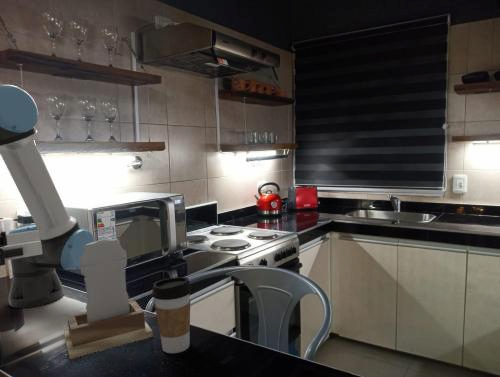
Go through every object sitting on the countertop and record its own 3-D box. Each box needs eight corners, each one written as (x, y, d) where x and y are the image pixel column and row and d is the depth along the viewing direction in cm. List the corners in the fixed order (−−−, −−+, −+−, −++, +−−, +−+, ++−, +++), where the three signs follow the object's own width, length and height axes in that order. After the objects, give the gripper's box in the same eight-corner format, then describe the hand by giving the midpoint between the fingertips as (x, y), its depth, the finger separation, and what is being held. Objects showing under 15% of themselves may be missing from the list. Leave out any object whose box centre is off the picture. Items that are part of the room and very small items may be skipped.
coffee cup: (187, 357, 85) (182, 287, 84) (150, 355, 87) (144, 287, 86) (200, 338, 93) (195, 275, 92) (165, 337, 95) (160, 274, 94)
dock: (64, 335, 99) (61, 313, 99) (138, 317, 108) (136, 296, 108) (69, 359, 87) (67, 335, 87) (152, 336, 96) (150, 314, 95)
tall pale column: (130, 320, 102) (122, 234, 100) (135, 326, 99) (127, 237, 96) (85, 333, 96) (76, 241, 94) (88, 339, 93) (79, 244, 91)
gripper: (-67, 264, 90) (40, 246, 100) (-95, 298, 69) (45, 272, 79) (-73, 231, 89) (36, 216, 99) (-103, 255, 68) (40, 234, 78)
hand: (40, 241), depth 89 cm, fingers open, 13 cm apart
